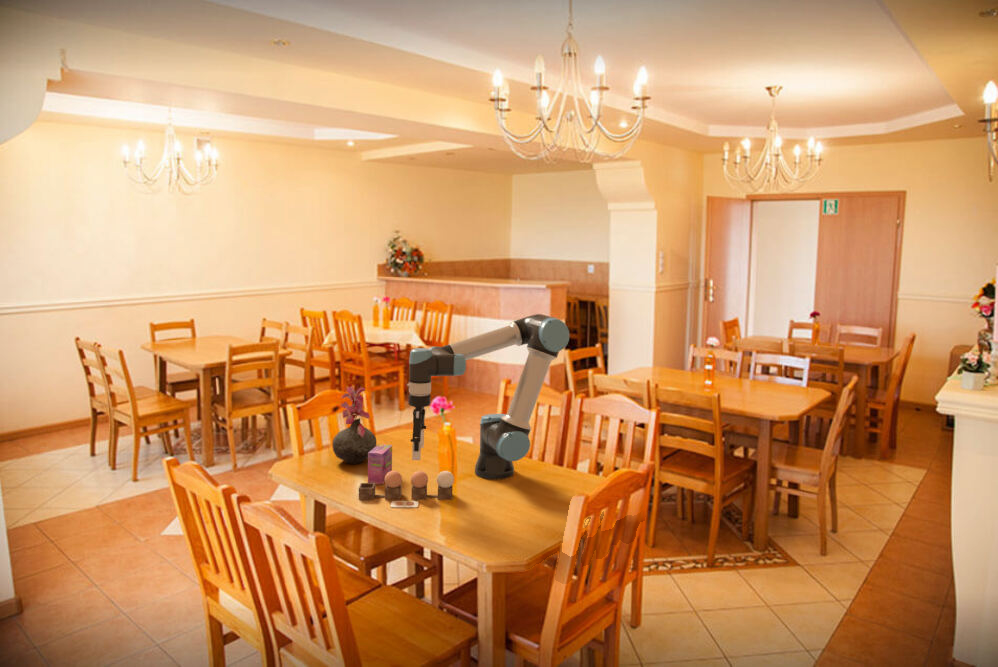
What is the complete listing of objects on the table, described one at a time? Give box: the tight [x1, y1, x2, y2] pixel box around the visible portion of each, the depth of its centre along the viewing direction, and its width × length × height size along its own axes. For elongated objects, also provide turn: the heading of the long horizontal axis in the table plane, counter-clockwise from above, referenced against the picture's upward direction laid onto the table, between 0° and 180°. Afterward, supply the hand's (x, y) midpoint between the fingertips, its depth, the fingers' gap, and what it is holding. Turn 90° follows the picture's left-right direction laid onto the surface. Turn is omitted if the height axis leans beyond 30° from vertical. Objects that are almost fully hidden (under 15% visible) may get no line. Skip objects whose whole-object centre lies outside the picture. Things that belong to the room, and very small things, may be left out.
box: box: [367, 443, 393, 485], centre depth 243 cm, size 10×6×12 cm, turn 168°
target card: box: [390, 500, 419, 509], centre depth 221 cm, size 9×5×1 cm, turn 93°
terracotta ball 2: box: [410, 470, 429, 488], centre depth 228 cm, size 6×6×6 cm
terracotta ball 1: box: [384, 470, 403, 488], centre depth 227 cm, size 6×6×6 cm
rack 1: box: [358, 482, 402, 501], centre depth 227 cm, size 14×5×4 cm, turn 93°
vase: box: [332, 386, 377, 465], centre depth 260 cm, size 17×17×30 cm
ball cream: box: [436, 470, 455, 488], centre depth 228 cm, size 6×6×6 cm
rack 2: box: [411, 484, 453, 501], centre depth 228 cm, size 14×5×4 cm, turn 93°
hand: (418, 453), depth 227 cm, fingers open, 13 cm apart
